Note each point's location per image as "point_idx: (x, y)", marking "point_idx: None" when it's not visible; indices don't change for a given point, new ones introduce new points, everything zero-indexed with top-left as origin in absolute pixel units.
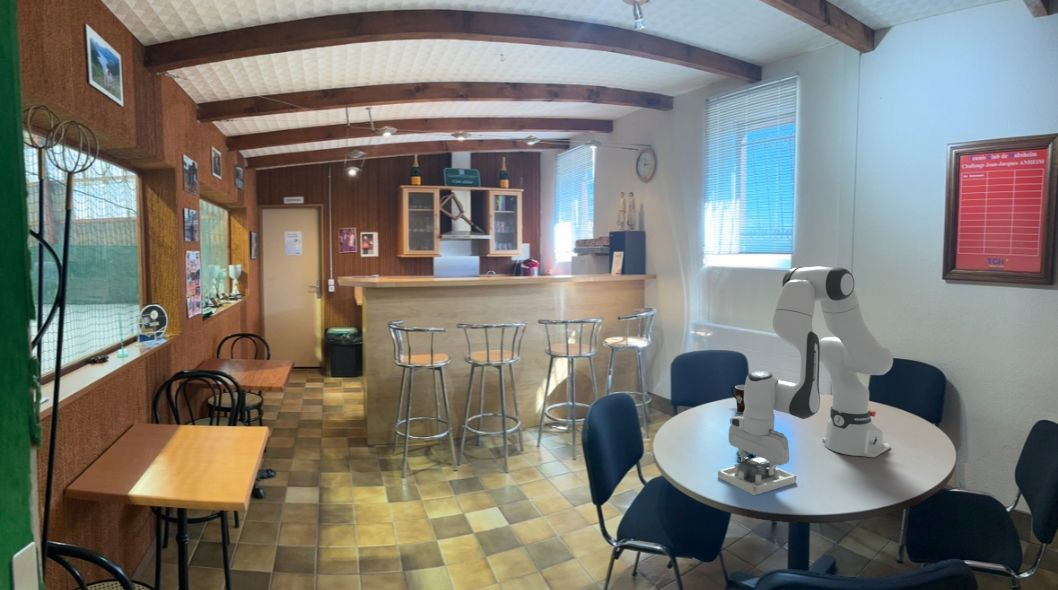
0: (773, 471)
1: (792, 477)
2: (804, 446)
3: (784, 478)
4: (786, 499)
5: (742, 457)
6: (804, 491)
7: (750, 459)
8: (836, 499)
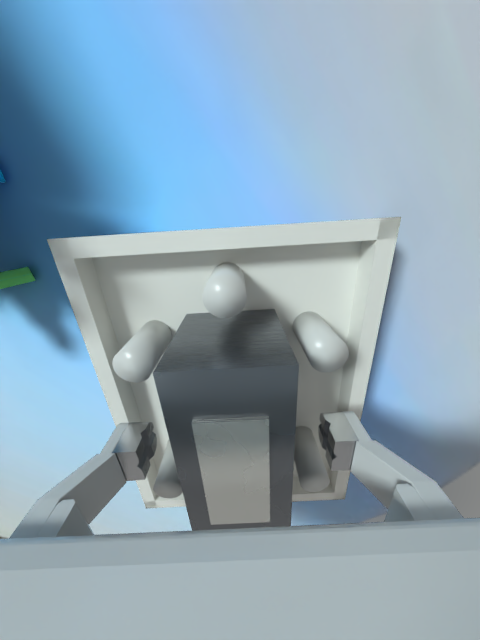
0: (361, 427)
1: (388, 260)
2: None
3: (370, 328)
4: (430, 403)
5: (122, 485)
6: (457, 273)
7: (189, 489)
8: None
